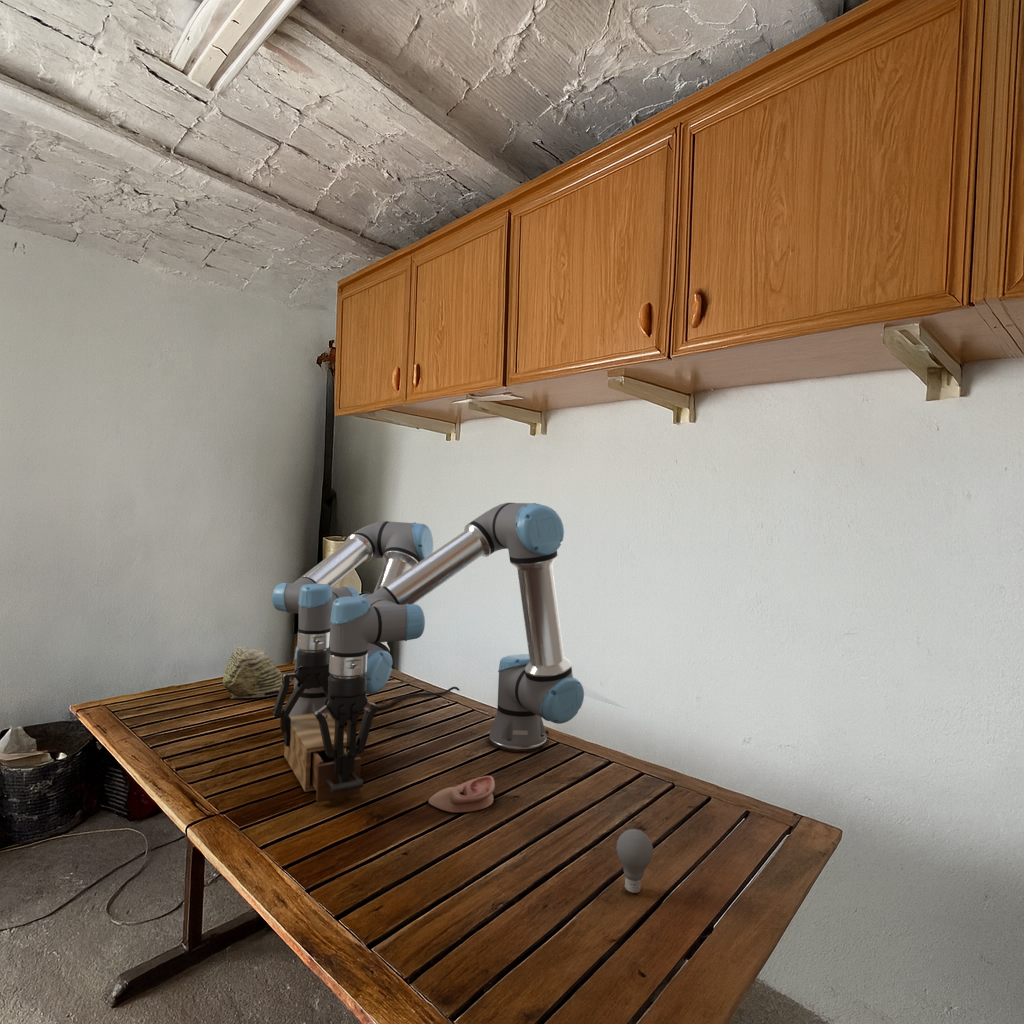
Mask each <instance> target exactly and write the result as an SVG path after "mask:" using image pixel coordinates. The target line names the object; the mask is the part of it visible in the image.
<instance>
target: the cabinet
mask: <svg viewBox="0 0 1024 1024" xmlns="http://www.w3.org/2000/svg"><path fill="white" fill-rule="evenodd" d="M327 715H328V717H327V718H326V721H327V724H328V728H329V733H330V738H331V742H332V747H333V748H334V734H335V721H334V719H333V718H332V717H331V716H330V714H329V713H328V712H327ZM289 717H290V718H291V725H290V746H288V747H286V745H285V744H284V743H283V757H284V758H285V760H286V762H287V764H288V765H289V767H290V769H291V771H292V772H293V774H294V775H295V777H296V779H297V780H298V783H299V784H300V786H301V787H302V789H303V791H304V792H305V793H306V792H307V793H308V792H312V791H316V790H315V788H314V786H313V785H312V783H311V781H310V766H311V752H315V751H321V750H324V745H323V741H322V736H321V731H320V727H319V722H318V720H317V718H316V717H315V715H314V714H313V713H311V714H304V715H297V716H289ZM346 745H347V732H345V731H344V741H343V747H344V746H345V747H346Z"/></svg>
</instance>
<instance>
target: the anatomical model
mask: <svg viewBox="0 0 1024 1024" xmlns="http://www.w3.org/2000/svg"><path fill="white" fill-rule="evenodd" d="M495 788H496V782H495V779H494V777H493V776H491V775H483V776H480V777H476V778H473V779H470V780H467V781H466V782H463V783H461V784H459V785H455V786H451V787H446V788H443V789H440V790H439V791H437V792H436V793H434V794H433V795H432V796H430V798H429V799H428V800H427V801H428V804H429V805H431V806H432V807H434V808H435V809H439V810H441V811H444V812H446V813H468V812H475V811H480V810H482V809H485V808H488V807H490V806H491V805H492V804H493V803H494V800H495V799H494V794H493V792H494V790H495Z"/></svg>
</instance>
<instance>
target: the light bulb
mask: <svg viewBox="0 0 1024 1024" xmlns="http://www.w3.org/2000/svg"><path fill="white" fill-rule="evenodd" d="M615 849H616V854H617V857H618V859H619V861H620V863H621V865H622V867H623V873H624V874H623V875H624V876H625V878H624V888H625V890H627V891H628V892H630V893H634V894H635V893H639V892H640V891H641V889H642V887H641V886H642V879H643V877H644V875H645V871H646V868H647V867H648V866H649V864H650V863H651V861H652V859H653V855H654V847H653V843H652V841H651V838H649V836H648V835H647V834H646V833H645V832H643V831H642V830H641V829H636V828H629V829H627V830H625V831H623V832H622V833H621V834H620V835H619V837H618V839H617V841H616V847H615Z"/></svg>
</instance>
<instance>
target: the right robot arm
mask: <svg viewBox="0 0 1024 1024" xmlns="http://www.w3.org/2000/svg"><path fill="white" fill-rule="evenodd" d="M564 538H565V528H564V523H563V521H562V518H561V516H560V515H559V514H558V513H557V511H556V510H554V509H553V508H552V507H550V506H548V505H544V504H540V503H537V502H504V503H500V504H499V505H496V506H494V507H492V508H490V509H488V510H486V511H485V512H484V513H482V514H480V515H479V516H477V517H476V518H474V519H472V521H470V522H469V523H467V524H465V526H464V530H463V532H461V533H460V534H458V535H457V536H455V537H453V538H452V539H451V540H449V541H448V542H446V543H445V544H443V545H442V546H441V547H439V548H438V549H436V550H435V551H433V553H432V554H430V555H429V556H427V557H426V558H425V559H423V560H422V561H420V562H419V563H417V564H416V565H414V566H413V567H411V568H410V569H408V570H407V571H406V572H404V573H403V574H401V575H400V576H398V577H397V578H395V579H394V580H392V581H391V582H389V583H388V584H386V585H385V586H383V587H382V588H380V589H379V590H377V591H376V592H374V591H373V593H363V594H361V595H360V594H359V595H360V596H359V597H341V598H337V599H336V600H335V601H334V602H333V605H332V612H331V620H330V623H331V627H330V628H331V629H330V658H329V673H330V674H331V675H330V676H329V680H328V698H327V700H326V702H325V706H323V707H322V708H321V709H319V710H315V711H314V712H313V714H314V715H315V717H316V718H317V720H318V722H319V727H320V731H321V736H322V741H323V745H324V750H325V753H326V755H327V756H328V758H334V772H335V774H336V775H338V783H343V782H348V781H349V773H350V772H353V771H354V759H355V758H356V757H357V755H358V754H362V753H364V752H365V749H366V744H367V741H368V738H369V733H370V729H371V726H372V723H373V719H374V717H375V715H376V713H377V712H378V711H379V709H378V707H379V706H378V705H377V704H376V703H374V702H371V701H369V698H368V696H367V694H366V680H367V676H366V674H365V672H366V671H367V654H368V644H369V643H379V642H387V643H389V642H401V641H402V642H403V641H404V642H407V641H412V640H416V639H419V638H420V637H422V636H423V634H424V631H425V627H426V616H425V614H424V613H425V612H424V610H423V609H422V607H421V606H420V605H418V604H416V603H417V602H419V601H420V600H422V599H423V598H424V597H426V596H427V595H429V594H431V592H433V591H434V590H436V589H437V588H439V587H440V586H441V585H443V584H444V583H446V582H447V581H448V580H450V579H451V578H453V577H454V576H455V575H457V574H458V573H461V571H463V570H464V569H465V568H467V567H468V566H470V565H471V564H473V563H475V562H476V560H478V559H479V558H481V557H483V558H488V557H490V556H491V555H492V554H493V553H495V552H497V551H500V550H501V551H502V550H506V549H507V550H508V557H509V563H510V564H511V565H513V566H514V567H515V568H516V569H517V577H518V584H519V591H520V598H521V599H520V600H521V606H522V613H523V621H524V628H525V635H526V643H527V651H528V654H527V653H520V654H519V653H518V654H510V655H505V656H503V657H502V658H500V660H499V665H498V671H497V672H498V684H497V686H498V687H497V709H496V713H495V717H494V719H493V722H492V724H491V728H490V729H489V735H488V741H489V743H490V744H491V745H492V746H493V747H494V748H496V749H499V750H502V751H506V752H513V753H529V752H535V751H539V750H541V749H543V748H544V747H546V745H547V735H549V734H550V731H549V730H547V729H545V725H544V721H546V722H551V723H553V724H556V725H557V724H559V725H561V724H564V723H568V722H569V721H571V720H573V718H575V716H576V715H577V714H578V712H579V710H580V709H581V708H582V706H583V703H584V700H585V699H584V697H585V690H584V686H583V684H582V682H581V681H579V679H577V678H575V677H574V676H573V675H574V674H573V667H572V662H571V660H570V659H568V658H567V657H565V653H564V644H563V637H562V630H561V629H562V628H561V621H560V620H561V619H560V614H559V606H558V605H559V604H558V598H557V589H556V583H555V582H556V581H555V574H554V567H553V564H554V562H555V561H556V560H557V558H558V557H559V556H558V549H559V548H560V547H561V545H562V544H561V543H562V542H563V541H564ZM363 709H364V711H362V710H363ZM328 711H329V712H330V713H331V714H332V716H333V717H334V721H335V734H334V750H333V747H332V742H331V738H330V733H329V728H328V724H327V721H326V718H327V717H328V715H327V712H328ZM362 712H363V715H362V719H361V722H360V726H359V730H358V734H357V727H358V726H357V725H358V723H359V722H358V720H359V719H358V718H359V716H360V715H361V713H362ZM543 720H544V721H543ZM346 721H347V724H346ZM345 726H346V727H347V728H346V734H347V745H346V752H347V754H343V741H344V732H345ZM346 791H349V790H346ZM341 792H344V791H341Z"/></svg>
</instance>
